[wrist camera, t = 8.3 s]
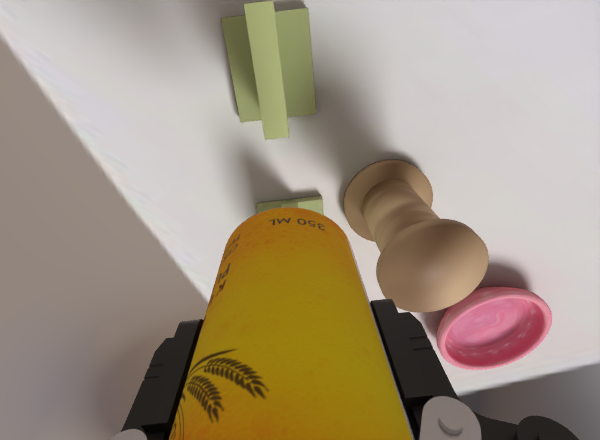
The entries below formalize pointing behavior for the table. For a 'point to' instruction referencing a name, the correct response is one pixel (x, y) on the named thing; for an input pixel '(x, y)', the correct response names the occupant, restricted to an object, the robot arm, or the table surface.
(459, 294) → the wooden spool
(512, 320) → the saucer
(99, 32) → the table surface
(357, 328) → the beer can
